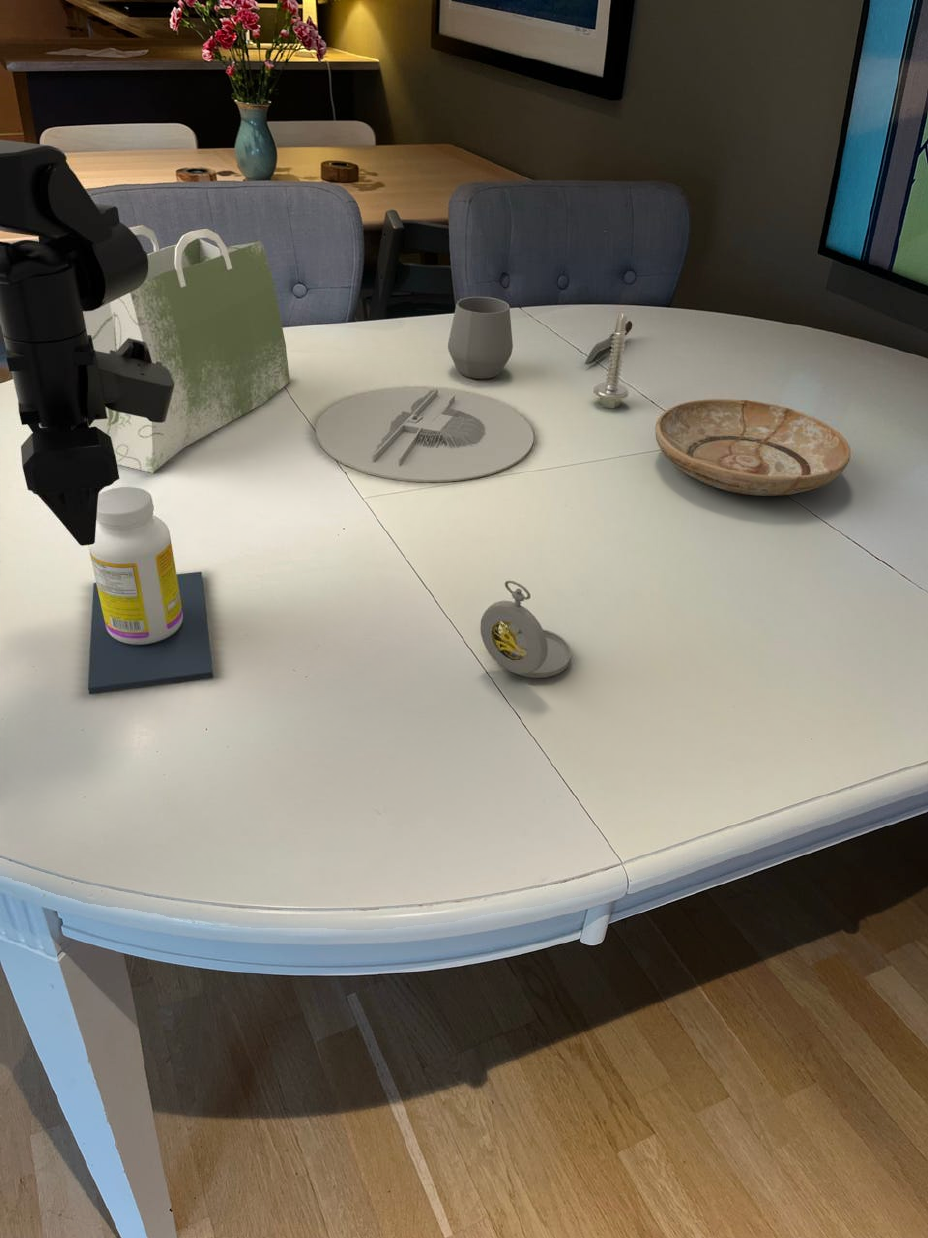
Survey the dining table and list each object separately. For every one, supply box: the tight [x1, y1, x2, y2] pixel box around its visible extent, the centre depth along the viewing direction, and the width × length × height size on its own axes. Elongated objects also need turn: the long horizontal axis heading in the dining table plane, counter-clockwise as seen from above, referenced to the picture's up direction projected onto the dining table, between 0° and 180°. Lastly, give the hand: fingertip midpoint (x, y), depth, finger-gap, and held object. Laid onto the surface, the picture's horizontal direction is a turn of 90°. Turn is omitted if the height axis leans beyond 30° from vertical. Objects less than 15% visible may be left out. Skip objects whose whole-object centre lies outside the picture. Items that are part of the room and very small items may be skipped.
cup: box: [447, 296, 514, 380], centre depth 138 cm, size 10×9×10 cm
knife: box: [583, 320, 633, 365], centre depth 150 cm, size 18×2×3 cm, turn 150°
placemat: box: [87, 571, 214, 694], centre depth 86 cm, size 16×10×1 cm, turn 16°
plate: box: [315, 387, 534, 483], centre depth 123 cm, size 28×28×1 cm
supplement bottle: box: [87, 486, 183, 645], centre depth 82 cm, size 7×7×13 cm
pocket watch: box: [479, 580, 572, 679], centre depth 82 cm, size 8×8×10 cm
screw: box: [593, 311, 630, 409], centre depth 130 cm, size 13×5×5 cm
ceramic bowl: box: [654, 398, 851, 497], centre depth 117 cm, size 23×24×5 cm
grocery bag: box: [83, 225, 291, 474], centre depth 117 cm, size 32×14×23 cm, turn 159°
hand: (82, 516), depth 79 cm, fingers open, 9 cm apart
